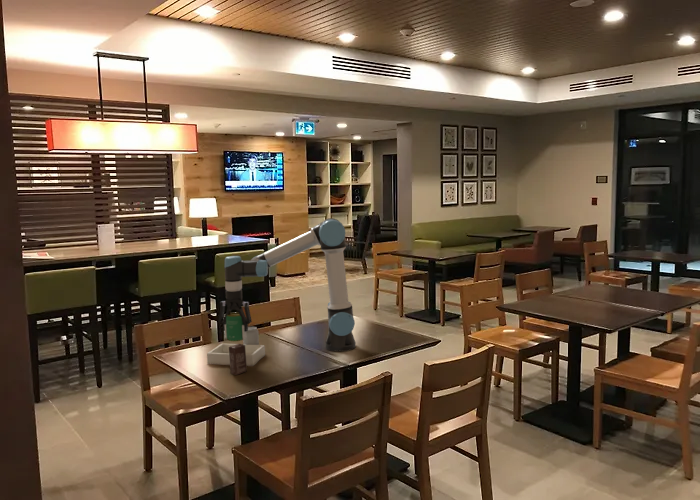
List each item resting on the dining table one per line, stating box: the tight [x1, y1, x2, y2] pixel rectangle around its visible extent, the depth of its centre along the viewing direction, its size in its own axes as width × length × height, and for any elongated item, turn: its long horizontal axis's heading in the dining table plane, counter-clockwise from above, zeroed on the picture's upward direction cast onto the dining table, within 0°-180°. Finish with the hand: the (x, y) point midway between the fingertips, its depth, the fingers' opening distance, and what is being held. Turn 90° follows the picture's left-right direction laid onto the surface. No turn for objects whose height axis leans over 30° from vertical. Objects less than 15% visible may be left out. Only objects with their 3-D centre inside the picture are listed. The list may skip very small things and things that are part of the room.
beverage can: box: [226, 311, 243, 342], centre depth 262 cm, size 8×8×12 cm
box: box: [229, 343, 248, 376], centre depth 244 cm, size 6×4×12 cm
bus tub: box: [206, 343, 266, 367], centre depth 263 cm, size 22×16×5 cm
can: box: [242, 326, 260, 345], centre depth 275 cm, size 8×8×12 cm
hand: (235, 337), depth 262 cm, fingers closed on beverage can, 8 cm apart
